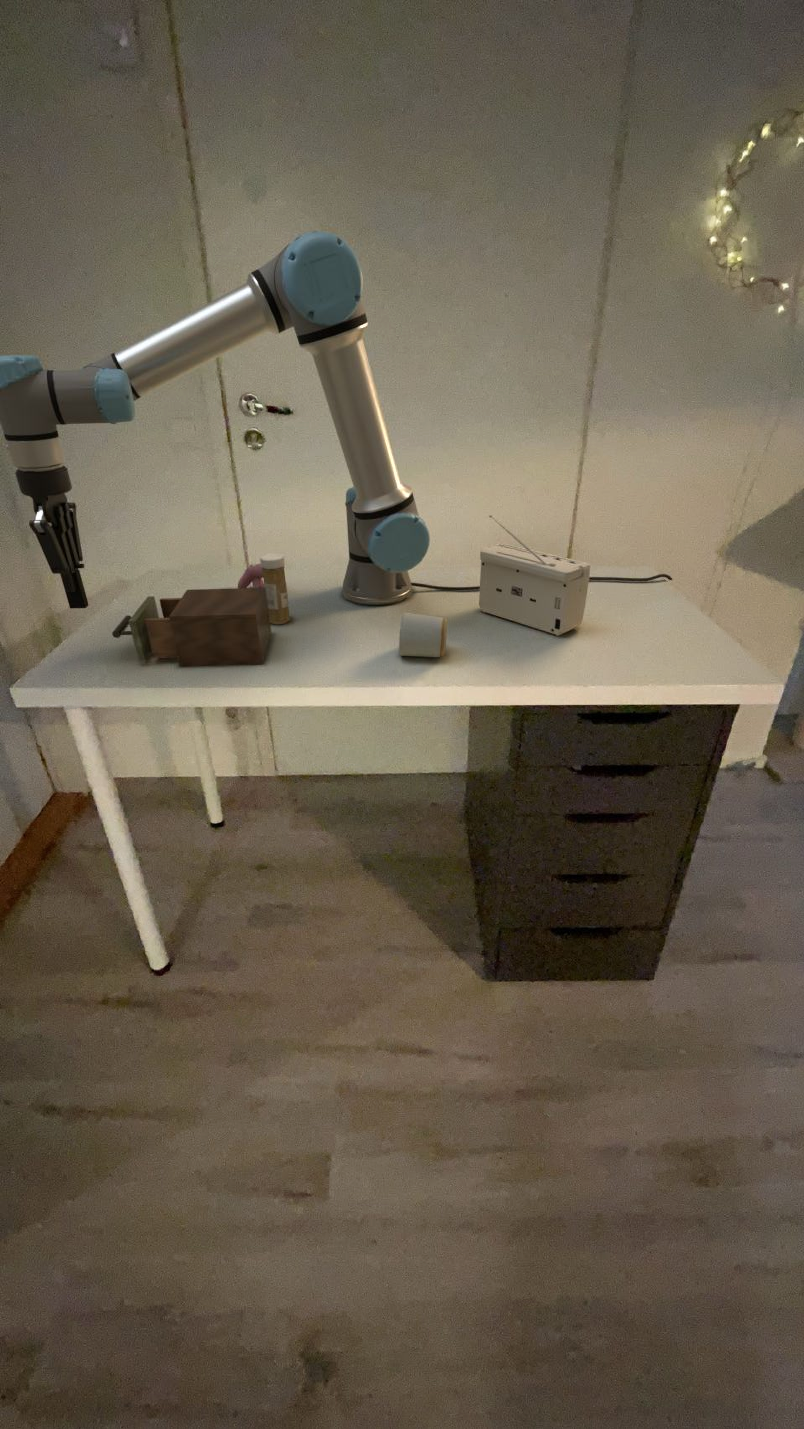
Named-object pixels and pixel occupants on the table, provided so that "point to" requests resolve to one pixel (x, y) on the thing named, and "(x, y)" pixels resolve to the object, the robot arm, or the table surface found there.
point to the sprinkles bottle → (275, 587)
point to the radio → (533, 587)
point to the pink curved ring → (252, 577)
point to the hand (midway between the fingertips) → (79, 606)
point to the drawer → (151, 629)
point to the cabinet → (221, 627)
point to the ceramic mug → (422, 635)
